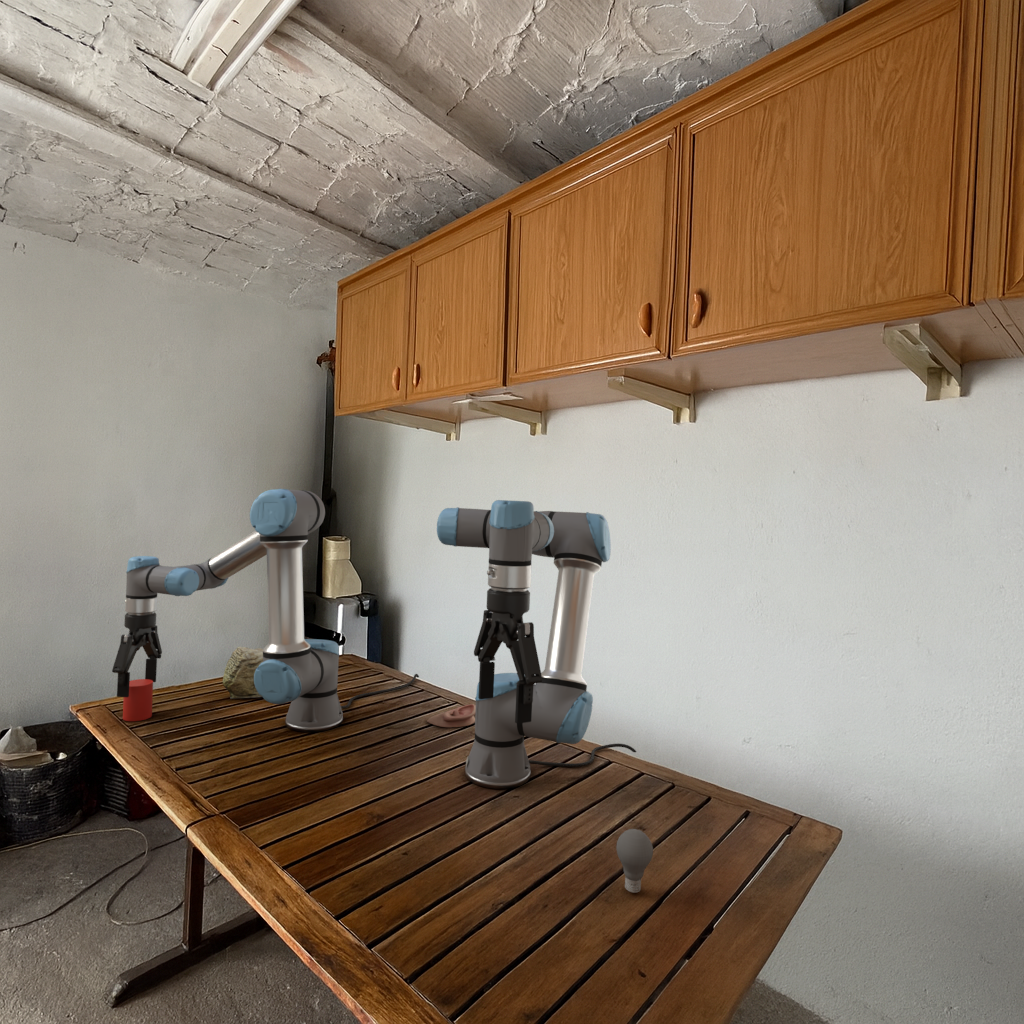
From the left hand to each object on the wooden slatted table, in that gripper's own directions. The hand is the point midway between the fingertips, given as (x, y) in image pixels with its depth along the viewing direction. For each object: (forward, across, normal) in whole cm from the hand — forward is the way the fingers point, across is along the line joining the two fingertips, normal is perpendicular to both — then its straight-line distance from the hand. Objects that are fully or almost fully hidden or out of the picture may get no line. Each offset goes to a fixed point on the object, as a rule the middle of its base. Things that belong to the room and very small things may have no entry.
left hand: (137, 689), depth 175 cm
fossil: (+7, -22, +24) cm, 34 cm away
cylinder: (+8, 0, 0) cm, 8 cm away
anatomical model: (+6, -4, +87) cm, 87 cm away
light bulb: (+5, +73, +122) cm, 143 cm away
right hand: (-22, +67, +99) cm, 121 cm away
